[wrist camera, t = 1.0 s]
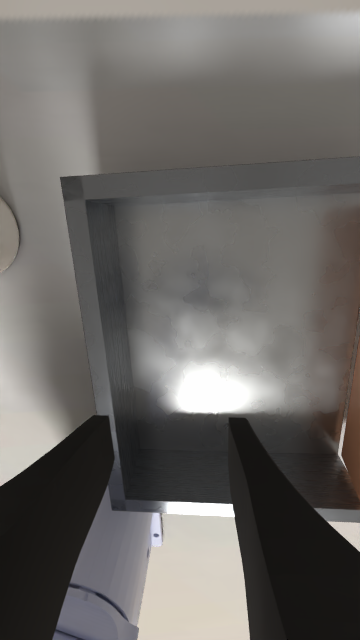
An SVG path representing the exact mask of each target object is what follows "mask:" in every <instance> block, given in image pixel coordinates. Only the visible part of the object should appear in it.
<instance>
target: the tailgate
mask: <svg viewBox="0 0 360 640" xmlns="http://www.w3.org/2000/svg"><path fill="white" fill-rule="evenodd" d="M341 455H342V458H343V460H344V463H345V465H346V468H347V470H348V473H349V475H350V478H351V480H352V483H353V485H354V488H355V490H356V493H357V495H358V498H359V500H360V336H359V342H358V349H357V356H356V362H355V369H354V375H353V382H352V388H351V395H350V402H349V408H348V415H347V421H346V428H345V434H344V441H343V448H342V454H341Z"/></svg>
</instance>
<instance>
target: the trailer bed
mask: <svg viewBox="0 0 360 640" xmlns="http://www.w3.org/2000/svg"><path fill="white" fill-rule="evenodd" d="M60 180H61V186H62V193H63V199H64V206H65V212H66V219H67V225H68V232H69V238H70V244H71V251H72V257H73V264H74V270H75V277H76V283H77V289H78V296H79V302H80V309H81V315H82V322H83V328H84V334H85V341H86V347H87V354H88V360H89V367H90V373H91V379H92V386H93V392H94V399H95V405H96V412H97V415H107V416H109V420H110V427H111V434H112V441H113V449H114V456H115V460H114V464H113V468H112V472H111V475H110V479H109V482H108V489H109V495H110V502H111V508H112V511H129V512H150V513H170V514H191V515H211V516H232V517H234V511H233V505H232V499H231V493H230V482H229V468H228V417H236V418H246V419H247V420H248V421H249V423H250V425H251V427H252V429H253V430H254V432H255V434H256V435H257V437H258V438H259V440H260V442H261V443H262V445H263V446H264V448H265V449H266V451H267V452H268V453H269V455H270V456H271V458H272V459H273V460H274V462H275V463H276V464H277V466H278V467H279V468H280V470H281V471H282V472H283V473H284V475H285V476H286V477H287V478H288V480H289V481H290V482H291V483H292V485H293V486H294V487H295V488H296V489H297V490H298V492H299V493H300V494H301V495H302V496H303V497H304V498H305V499H306V500H307V502H308V503H309V504H310V505H311V506H312V507H313V508H314V509H315V510H316V511H317V512H318V513H319V514H320V515H321V516H322V517H323V518H324V519H325V520H326V521H335V522H356V523H360V500H359V498H358V495H357V493H356V490H355V488H354V485H353V483H352V480H351V478H350V475H349V473H348V471H347V469H346V468H345V466H344V464H343V463H342V461H341V459H340V457H339V456H338V449H339V442H340V435H341V428H342V421H343V415H344V408H345V401H346V394H347V388H348V381H349V374H350V367H351V360H352V354H353V347H354V340H355V333H356V326H357V320H358V313H359V306H360V157H346V158H332V159H317V160H302V161H288V162H273V163H259V164H244V165H230V166H215V167H201V168H186V169H171V170H157V171H142V172H128V173H113V174H99V175H84V176H69V177H60Z"/></svg>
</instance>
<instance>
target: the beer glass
mask: <svg viewBox="0 0 360 640" xmlns="http://www.w3.org/2000/svg"><path fill="white" fill-rule="evenodd" d="M18 247H19V231H18V226H17V223H16V220H15V217H14V215H13V213H12V211H11V209H10V208H9V206H8V205H7V204H6V202H5V201H4V200H3V199H2V198H1V197H0V273H1V272H3V271H4V270H6V269H7V268H8V267H9V266H10V265H11V264H12V262H13V261H14V259H15V257H16V254H17V251H18Z"/></svg>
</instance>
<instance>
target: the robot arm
mask: <svg viewBox="0 0 360 640" xmlns="http://www.w3.org/2000/svg"><path fill="white" fill-rule="evenodd" d="M114 460H115V456H114V449H113V441H112V434H111V427H110V420H109V416H107V415H93V416H92V417H91V418H89V419H88V420H87V421H86V422H84V423H83V424H82V425H81V426H80V427H78V428H77V429H76V430H75V431H74V432H72V433H71V434H70V435H69V436H68V437H66V438H65V439H64V440H63V441H61V442H60V443H59V444H58V445H57V446H55V447H54V448H53V449H52V450H50V451H49V452H48V453H46V454H45V455H44V456H42V457H41V458H40V459H38V460H37V461H36V462H34V463H33V464H32V465H30V466H29V467H28V468H27V469H25V470H24V471H22V472H21V473H20V474H18V475H17V476H15V477H14V478H12V479H11V480H9V481H8V482H6V483H5V484H3V485H2V486H0V640H137V638H138V632H139V628H138V627H137V624H138V620H139V614H140V609H141V603H142V597H143V591H144V585H145V580H146V574H147V568H148V562H149V557H150V551H151V546H153V547H159V546H161V545H162V542H163V536H162V524H161V513H150V512H129V511H112V508H111V502H110V495H109V489H108V482H109V479H110V475H111V472H112V468H113V464H114ZM228 468H229V482H230V493H231V499H232V505H233V511H234V517H235V522H236V528H237V534H238V540H239V546H240V552H241V557H242V564H243V571H244V578H245V589H246V599H247V610H248V620H249V632H250V640H360V552H359V551H358V550H357V549H356V548H355V547H354V546H353V545H351V544H350V543H349V542H348V541H347V540H346V539H345V538H344V537H343V536H342V535H341V534H339V533H338V532H337V531H336V530H335V529H334V528H333V527H332V526H331V525H330V524H329V523H328V522H327V521H326V520H325V519H324V518H323V517H322V516H321V515H320V514H319V513H318V512H317V511H316V510H315V509H314V508H313V507H312V506H311V505H310V504H309V503H308V502H307V500H306V499H305V498H304V497H303V496H302V495H301V494H300V493H299V492H298V490H297V489H296V488H295V487H294V486H293V485H292V483H291V482H290V481H289V480H288V478H287V477H286V476H285V475H284V473H283V472H282V471H281V470H280V468H279V467H278V466H277V464H276V463H275V462H274V460H273V459H272V458H271V456H270V455H269V453H268V452H267V451H266V449H265V448H264V446H263V445H262V443H261V442H260V440H259V438H258V437H257V435H256V434H255V432H254V430H253V429H252V427H251V425H250V423H249V421H248V420H247V419H246V418H236V417H228Z"/></svg>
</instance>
